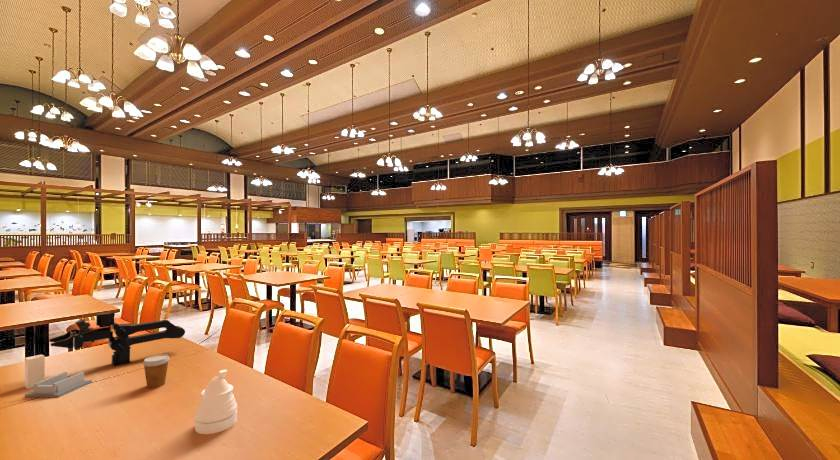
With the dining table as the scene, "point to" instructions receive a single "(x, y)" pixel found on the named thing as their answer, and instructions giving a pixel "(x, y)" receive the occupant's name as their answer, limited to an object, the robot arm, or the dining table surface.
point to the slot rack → (58, 385)
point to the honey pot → (216, 407)
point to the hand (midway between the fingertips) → (50, 342)
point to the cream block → (34, 370)
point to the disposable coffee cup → (156, 370)
